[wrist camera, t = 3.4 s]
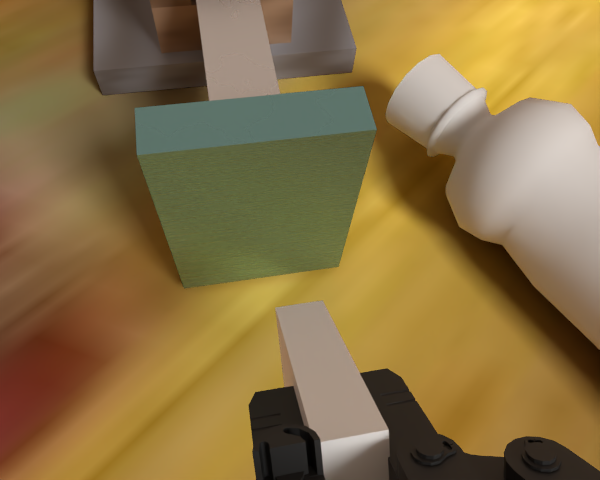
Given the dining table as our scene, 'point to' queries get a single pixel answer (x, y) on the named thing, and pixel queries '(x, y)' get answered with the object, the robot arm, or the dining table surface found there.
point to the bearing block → (188, 47)
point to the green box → (253, 161)
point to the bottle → (515, 180)
